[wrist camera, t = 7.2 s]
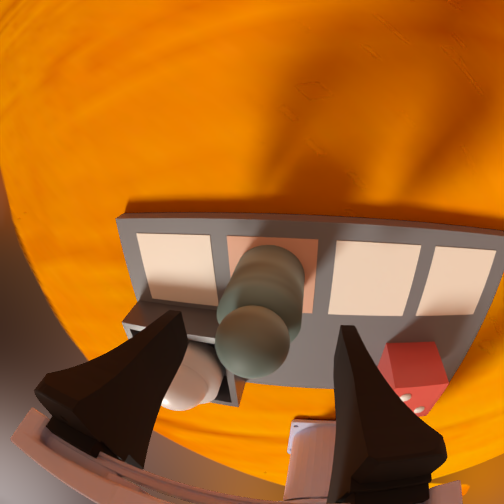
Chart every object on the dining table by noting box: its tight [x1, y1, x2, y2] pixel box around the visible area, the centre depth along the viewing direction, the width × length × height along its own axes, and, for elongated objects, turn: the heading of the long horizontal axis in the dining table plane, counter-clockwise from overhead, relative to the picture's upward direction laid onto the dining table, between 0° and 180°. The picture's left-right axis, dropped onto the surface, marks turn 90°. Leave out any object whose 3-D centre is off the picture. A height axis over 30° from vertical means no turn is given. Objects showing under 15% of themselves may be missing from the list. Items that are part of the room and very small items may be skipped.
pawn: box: [215, 245, 305, 379], centre depth 13 cm, size 4×4×7 cm
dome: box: [161, 340, 225, 411], centre depth 18 cm, size 6×6×4 cm
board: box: [116, 212, 504, 407], centre depth 17 cm, size 14×26×4 cm, turn 93°
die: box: [377, 342, 449, 417], centre depth 16 cm, size 4×4×4 cm
